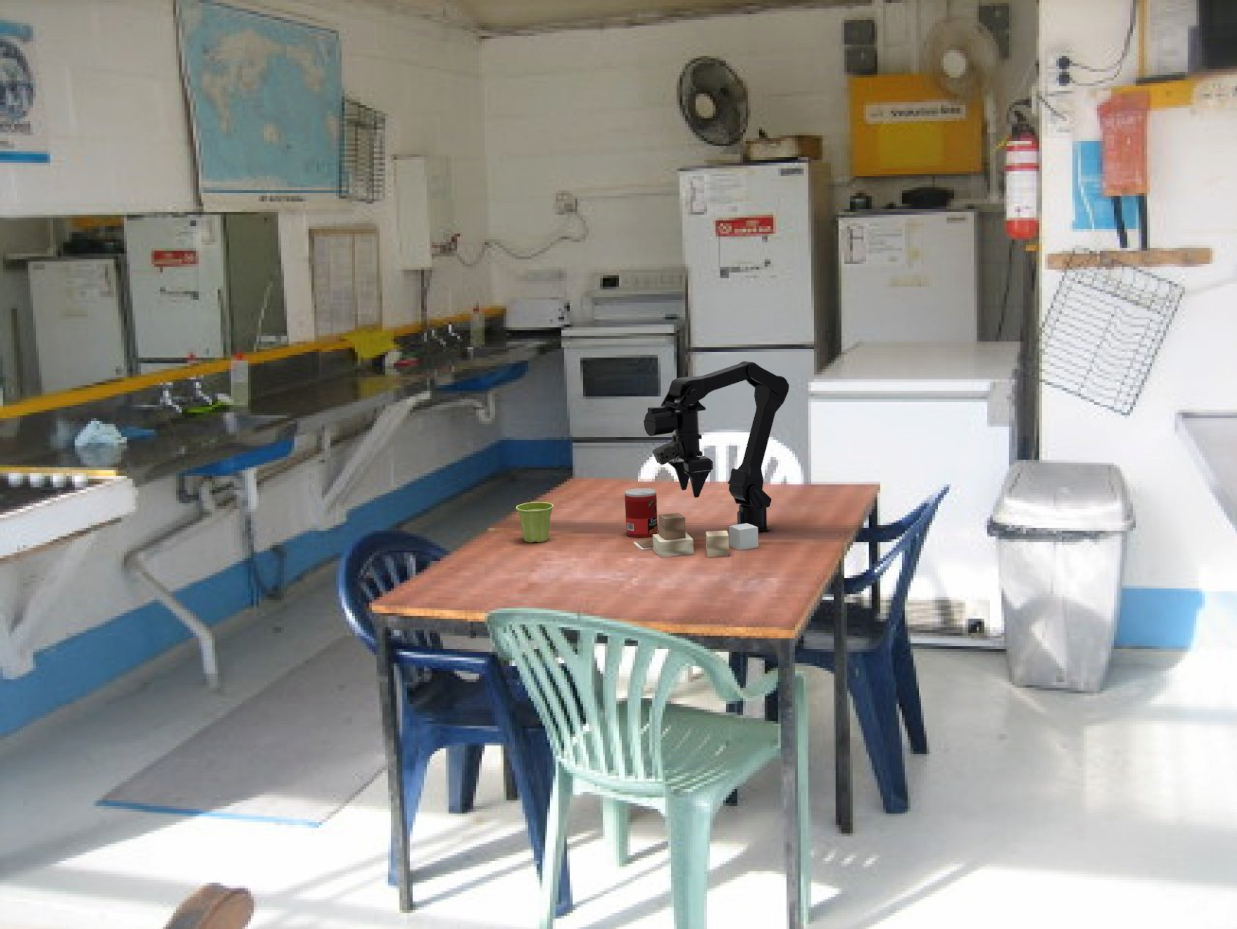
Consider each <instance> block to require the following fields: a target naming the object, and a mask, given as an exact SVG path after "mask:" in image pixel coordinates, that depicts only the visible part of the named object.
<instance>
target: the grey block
mask: <svg viewBox="0 0 1237 929" xmlns="http://www.w3.org/2000/svg"><path fill="white" fill-rule="evenodd" d="M728 535H729V547H731V548H733V549H736V550H739V551H744V550H750V549H755V548H756V549H757V548H759V531H758V527H756V526H753V525H751V524H748V523H745V524H738V525H737V524H733V525H729V526H728Z"/></svg>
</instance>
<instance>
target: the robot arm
mask: <svg viewBox="0 0 1237 929" xmlns="http://www.w3.org/2000/svg"><path fill="white" fill-rule="evenodd" d="M743 381H746V382H747V383H748V384H749V385H750V386H752V387H753V388H754V395H753V397H754V402H755V407H756V408H755V412H754V416H753V419H752V425H751V428H750V431H749V435H748V440H747V443H746V447H745V450H744V455H743V460H742V462H741V463H740V465H739V467H738V468H737V469H736V468H734V467H733V468H731V470H730V476H729V480H728V481H727V484H728V492H729V493H730V495H731V496H732V497H733V499H734V503H735V504H736V505H738V511H737V513H736V523H737V524H736V525H738V524H745V523H748V524H751V525H753V526H756V527H758V532H766V531H770V527H768V522H767V521H768V520H767V519H768V518H767V517H768V516H767V512H768V511H767V510H768V509H767V508H770V506H771V502H772V498H771V497H770V496H769V494H768V493H766V492H765V491H764V489H763V488H764V476H763V470H762V466H763V464H764V459H765V455H766V451H767V448H768V443H769V441H770V440H769V439H770V436H771V432H772V428H773V425H774V420H775V416H776V414H777V411H779V409H780V408H781V407H782V405H783V404H784V403H785V401H786V398H787V396H788V393H789V390H790V384H789V382H788V380H787V378H785V377H784V376H782V375H776V374H774V373H773V372H770V371H769V370H767V369H765V368H763V367H761V365H759V364H757V363H756V362H754V361H748V360H747V361H746V360H744V361H743V360H742V361H740V362H739V363H737V364H734V365H731V366H727V367H725V368H722V369H719V370H715V371H712V372H709V373H706V374H704V375H697V376H684V377H677V378H675V379H673V380H672V381H671V383H670V385H669V388H668V389H669V390H668V391H667V393H666V395H665V397H664V399H663V400H662V402H661V405H660V406H651V407H650V406H649V407H647V412H646V414H645V415H644V419H643V426H644V431H645V432H646V434H647V435H648V436H649V437H655V436H661V435H667V434H672V433H673V434H672V435H671V441H669V442H667V443H664V444H662V445H660V446H658V447H656V448H654V449H652V454H653V456H654V459H655V461H656V463H657V464H659V465H661V466H663V465H665V464H668V465H669V466H671V467H672V468H673V469H674V470H675V474H676V476H677V480H678V482H679V485H680V489H681V491H686V490H687V488H688V484H689V481H690V484H691V489H692V495H693V497H694V498H695V499H696V498H697V499H698V498H699V497H700V495H701V492H702V490H703V488H704V485H705V483H706V481H707V479H708V476H709V475H710V473H711V472H712V470H714V461H712V460H711V458H710V457H708V456H705V455H703V451H702V450H701V448H700V440H702V439H703V438H702V434H700V431H699V430H700V428H699V412H700V411H706V410H707V408H706V407H705V406H704V405H703V404H702V402H700V401H701V400H703V399H704V398H705V397H707V395H708V394H710V393H711V392H713V391H717V390H720V389H722V388H723V389H724V388H725V387H728V386H732V385H735V384H738V383H740V382H741V383H742V382H743Z"/></svg>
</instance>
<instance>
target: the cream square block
mask: <svg viewBox="0 0 1237 929" xmlns="http://www.w3.org/2000/svg"><path fill="white" fill-rule="evenodd" d="M652 540H653V549H652V550H653V551H654V552H655V553H656V554H657V556H658V557H659V558H660V559H661V558H669V557H670V558H671V557H683V556H693V555H694V554H695V552H694V539H693V538H692V537H691V536H690V534H688V532H686V538H680V539H670V540H665V539H664V538H662V537H661V536H659V533H657V534H653V536H652Z"/></svg>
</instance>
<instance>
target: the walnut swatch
mask: <svg viewBox="0 0 1237 929" xmlns="http://www.w3.org/2000/svg"><path fill="white" fill-rule="evenodd" d="M633 544H634V545H635V546H636V547H637V548H638V549H639V550H641V551H646V550H653V539H646V540H636V541H633Z"/></svg>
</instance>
